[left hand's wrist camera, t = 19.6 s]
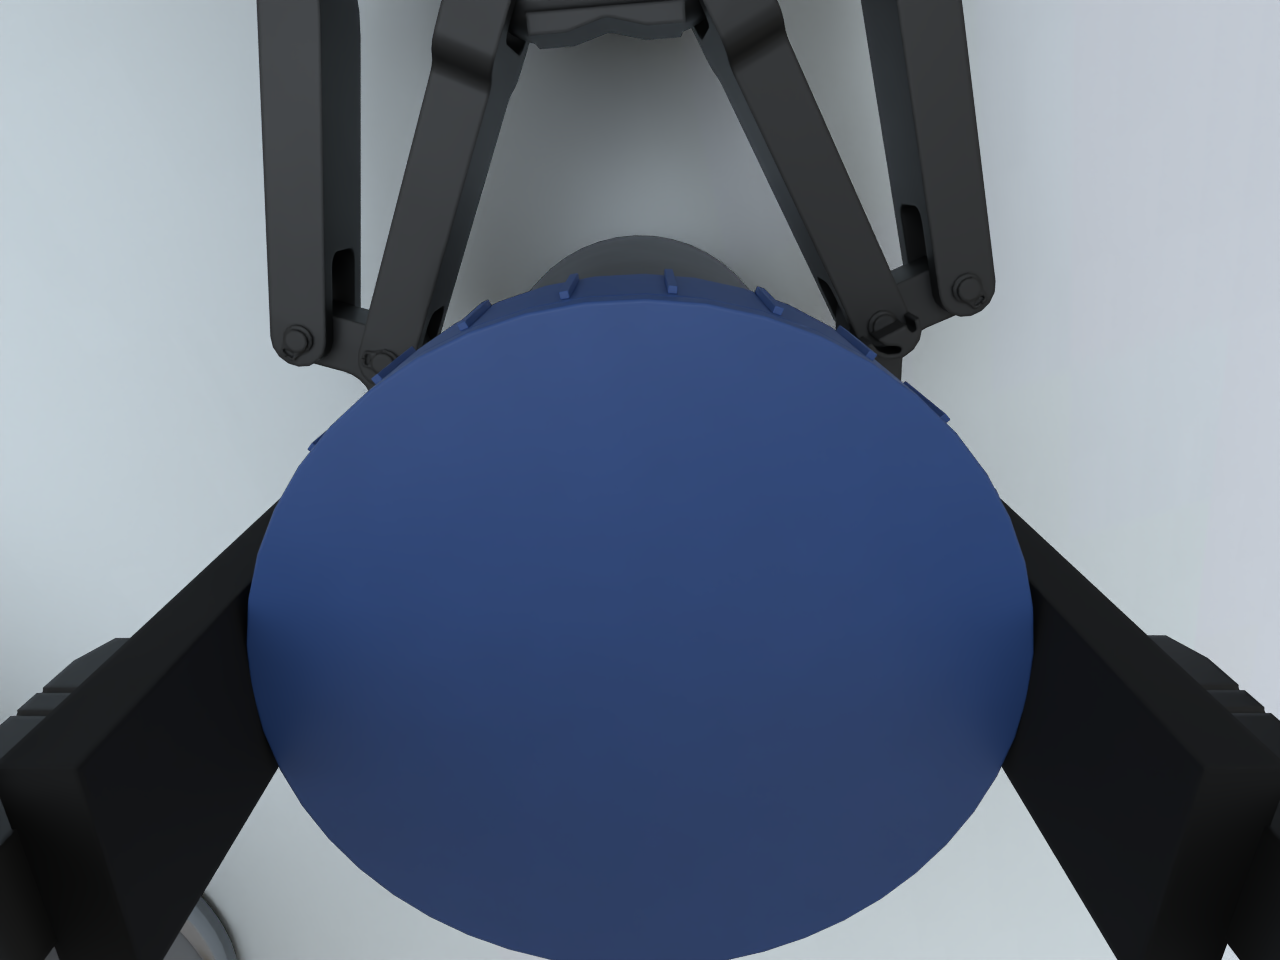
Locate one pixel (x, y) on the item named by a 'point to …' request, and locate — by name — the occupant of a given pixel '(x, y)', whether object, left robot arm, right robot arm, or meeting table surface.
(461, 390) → the lid
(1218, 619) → the meeting table surface
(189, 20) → the meeting table surface
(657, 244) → the jar
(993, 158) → the meeting table surface
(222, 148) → the meeting table surface
